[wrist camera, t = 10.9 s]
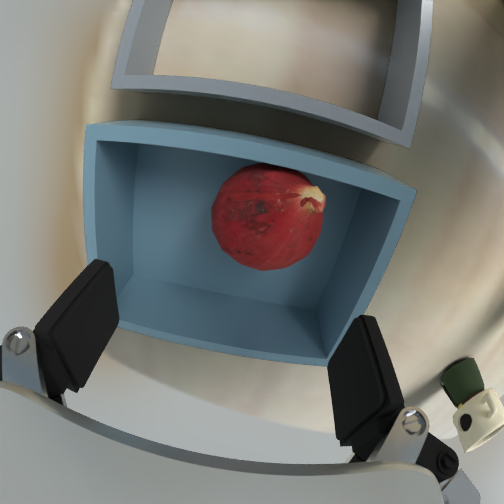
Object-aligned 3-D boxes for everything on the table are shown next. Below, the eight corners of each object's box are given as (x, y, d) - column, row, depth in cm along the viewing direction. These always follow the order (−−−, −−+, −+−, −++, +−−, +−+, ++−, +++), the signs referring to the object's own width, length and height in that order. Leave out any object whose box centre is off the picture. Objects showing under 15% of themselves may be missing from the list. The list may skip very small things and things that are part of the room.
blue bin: (134, 119, 16) (86, 124, 11) (375, 167, 17) (417, 190, 12) (128, 276, 22) (97, 320, 17) (320, 314, 23) (332, 367, 18)
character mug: (441, 357, 26) (477, 438, 15) (481, 335, 25) (522, 406, 13) (431, 395, 31) (455, 461, 19) (467, 377, 29) (494, 438, 18)
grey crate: (182, -49, 9) (167, -74, 6) (407, -3, 10) (432, -19, 6) (139, 92, 15) (110, 88, 11) (382, 141, 16) (409, 148, 12)
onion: (200, 276, 17) (256, 271, 9) (195, 185, 17) (243, 121, 10) (283, 269, 19) (370, 260, 12) (275, 189, 19) (351, 144, 12)
